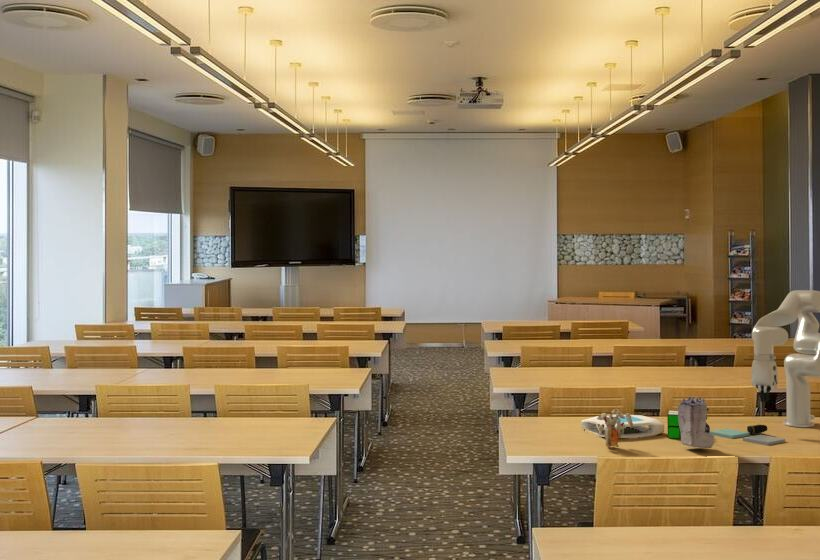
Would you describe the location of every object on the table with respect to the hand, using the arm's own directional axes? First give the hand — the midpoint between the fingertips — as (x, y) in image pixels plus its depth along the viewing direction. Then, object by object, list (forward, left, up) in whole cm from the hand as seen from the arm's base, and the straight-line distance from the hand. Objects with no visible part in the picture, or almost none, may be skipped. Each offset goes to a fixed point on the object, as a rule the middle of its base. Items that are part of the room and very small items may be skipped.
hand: (764, 401), depth 339 cm
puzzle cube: (+32, -17, -14) cm, 39 cm away
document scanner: (+46, -36, -15) cm, 61 cm away
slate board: (+12, +8, -14) cm, 20 cm away
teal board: (+13, -8, -14) cm, 20 cm away
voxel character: (+71, -17, -14) cm, 75 cm away
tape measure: (0, 0, -14) cm, 14 cm away
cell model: (+45, +1, -14) cm, 48 cm away
